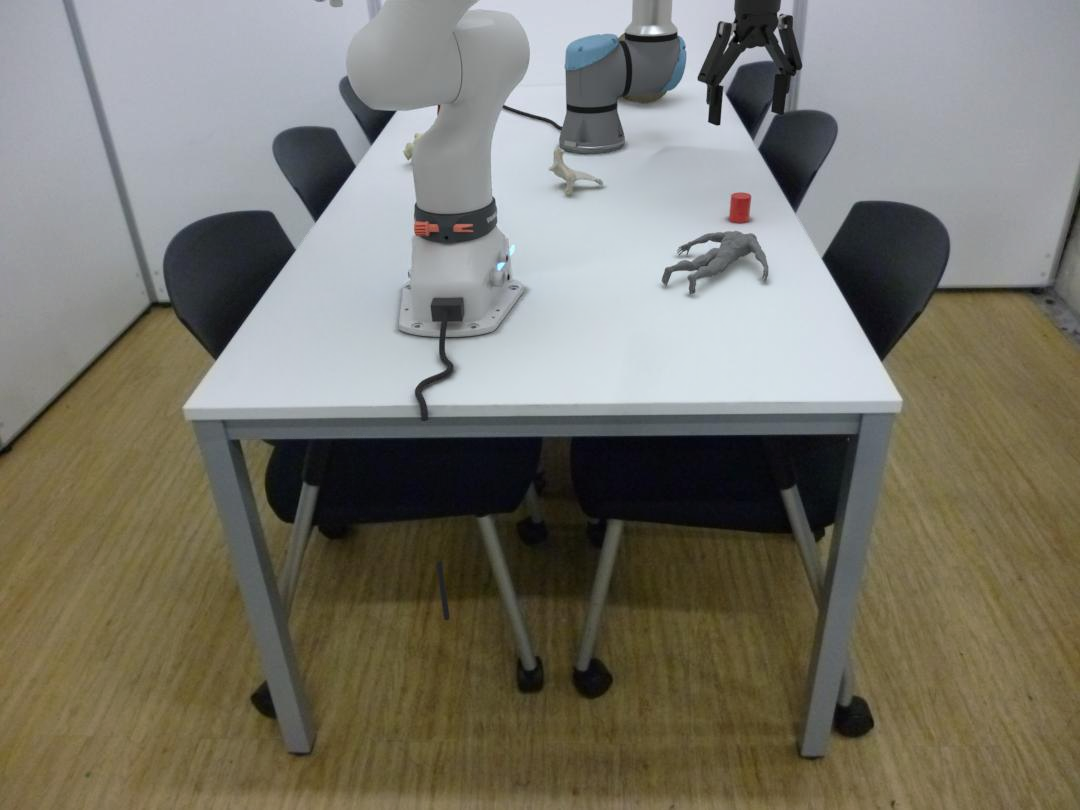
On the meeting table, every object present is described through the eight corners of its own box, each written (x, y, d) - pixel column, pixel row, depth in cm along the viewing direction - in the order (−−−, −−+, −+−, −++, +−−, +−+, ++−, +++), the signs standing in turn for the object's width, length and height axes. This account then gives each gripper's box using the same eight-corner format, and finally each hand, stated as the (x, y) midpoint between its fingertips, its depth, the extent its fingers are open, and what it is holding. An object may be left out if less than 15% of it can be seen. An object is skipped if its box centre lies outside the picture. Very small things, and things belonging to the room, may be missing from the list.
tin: (735, 214, 152) (738, 190, 150) (752, 219, 150) (755, 194, 148) (725, 220, 150) (727, 196, 148) (742, 224, 148) (744, 200, 146)
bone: (576, 172, 159) (561, 138, 165) (554, 195, 163) (539, 162, 168) (611, 192, 166) (595, 159, 172) (589, 214, 170) (574, 181, 175)
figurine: (723, 310, 121) (798, 261, 131) (724, 284, 118) (801, 236, 129) (634, 279, 131) (711, 236, 142) (634, 254, 129) (712, 213, 139)
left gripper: (352, -93, 125) (366, 8, 133) (314, -94, 141) (329, -3, 148) (311, -91, 123) (328, 12, 130) (277, -92, 138) (293, 0, 146)
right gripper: (707, -5, 130) (698, 133, 142) (835, -18, 138) (816, 113, 150) (682, -10, 136) (675, 123, 148) (805, -23, 144) (789, 104, 156)
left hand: (328, 4), depth 139 cm, fingers open, 8 cm apart
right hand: (746, 118), depth 149 cm, fingers open, 13 cm apart
